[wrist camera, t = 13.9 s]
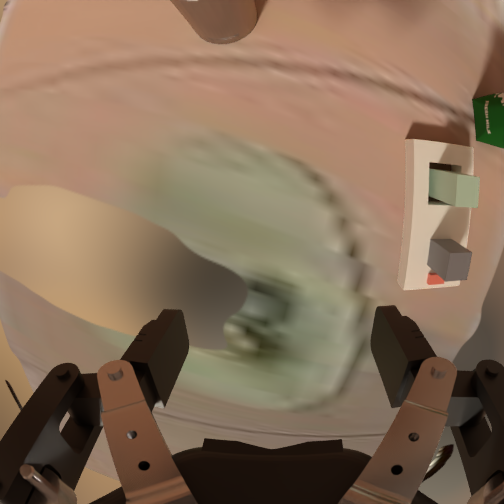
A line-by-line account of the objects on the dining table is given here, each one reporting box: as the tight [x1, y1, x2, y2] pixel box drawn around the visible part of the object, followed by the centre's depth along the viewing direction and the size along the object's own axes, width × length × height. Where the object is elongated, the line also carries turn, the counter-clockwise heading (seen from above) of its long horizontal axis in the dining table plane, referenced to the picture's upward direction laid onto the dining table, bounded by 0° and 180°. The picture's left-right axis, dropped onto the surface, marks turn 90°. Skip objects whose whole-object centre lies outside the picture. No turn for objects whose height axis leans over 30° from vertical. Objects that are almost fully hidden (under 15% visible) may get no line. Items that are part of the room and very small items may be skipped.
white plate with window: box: [397, 139, 474, 290], centre depth 34 cm, size 22×11×9 cm, turn 3°
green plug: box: [428, 168, 480, 208], centre depth 32 cm, size 4×4×9 cm
